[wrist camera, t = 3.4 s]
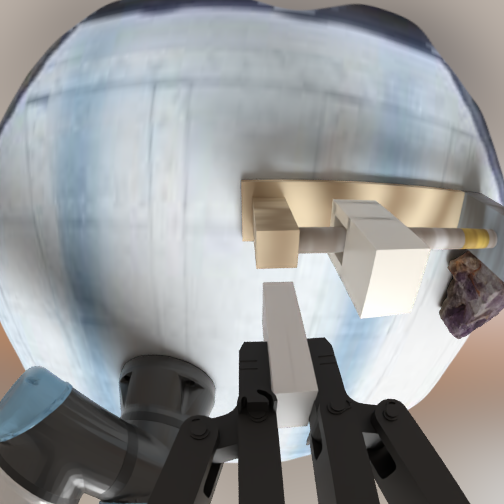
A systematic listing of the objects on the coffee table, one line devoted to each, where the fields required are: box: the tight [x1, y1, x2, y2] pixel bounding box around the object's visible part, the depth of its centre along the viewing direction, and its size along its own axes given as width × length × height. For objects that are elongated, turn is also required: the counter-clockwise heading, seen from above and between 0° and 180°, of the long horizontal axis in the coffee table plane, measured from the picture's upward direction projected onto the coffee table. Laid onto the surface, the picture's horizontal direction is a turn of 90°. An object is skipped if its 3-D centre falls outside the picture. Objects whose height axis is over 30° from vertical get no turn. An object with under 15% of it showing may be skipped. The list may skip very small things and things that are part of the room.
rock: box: [439, 251, 504, 339], centre depth 30 cm, size 12×9×10 cm
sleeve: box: [327, 199, 431, 319], centre depth 20 cm, size 4×5×9 cm
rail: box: [241, 179, 504, 282], centre depth 24 cm, size 30×6×11 cm, turn 91°
